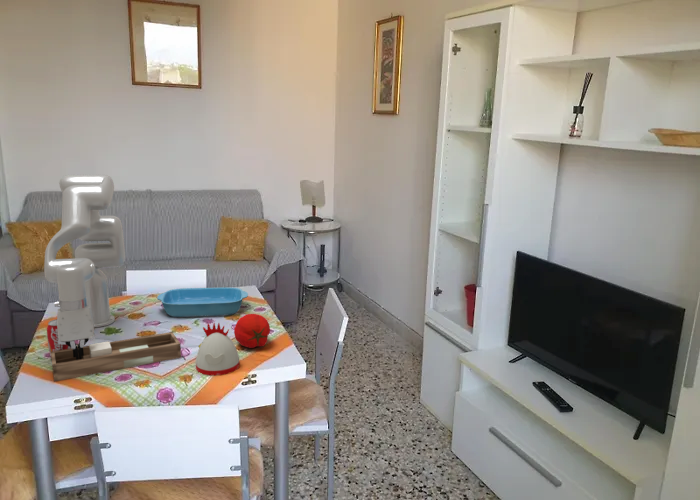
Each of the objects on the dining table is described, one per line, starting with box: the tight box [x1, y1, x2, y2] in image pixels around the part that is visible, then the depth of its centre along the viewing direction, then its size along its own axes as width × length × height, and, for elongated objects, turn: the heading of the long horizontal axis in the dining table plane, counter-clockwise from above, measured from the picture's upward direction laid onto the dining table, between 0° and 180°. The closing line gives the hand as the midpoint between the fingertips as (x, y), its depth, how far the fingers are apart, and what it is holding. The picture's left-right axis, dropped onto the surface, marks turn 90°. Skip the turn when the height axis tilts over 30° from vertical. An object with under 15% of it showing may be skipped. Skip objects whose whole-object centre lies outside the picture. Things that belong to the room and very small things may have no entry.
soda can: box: [46, 318, 71, 357], centre depth 184 cm, size 7×7×12 cm
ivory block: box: [88, 340, 112, 357], centre depth 178 cm, size 6×6×4 cm
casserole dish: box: [156, 286, 249, 318], centre depth 231 cm, size 37×22×7 cm, turn 101°
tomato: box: [233, 313, 271, 349], centre depth 196 cm, size 13×13×13 cm
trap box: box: [50, 331, 182, 382], centre depth 180 cm, size 12×38×5 cm, turn 120°
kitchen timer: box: [195, 322, 240, 376], centre depth 178 cm, size 14×14×15 cm
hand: (78, 358), depth 175 cm, fingers closed
